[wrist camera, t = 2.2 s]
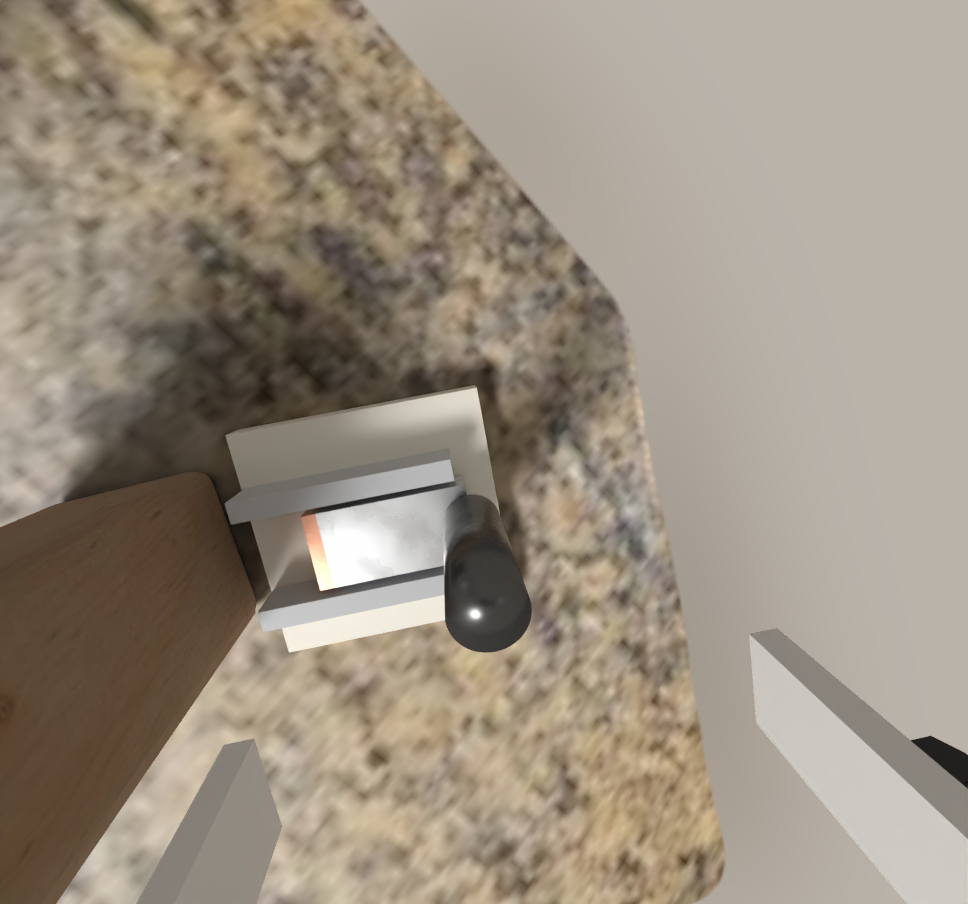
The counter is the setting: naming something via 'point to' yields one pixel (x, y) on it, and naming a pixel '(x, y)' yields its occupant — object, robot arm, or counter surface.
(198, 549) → the wooden block
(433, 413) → the base
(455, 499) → the ram handle
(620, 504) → the counter surface
